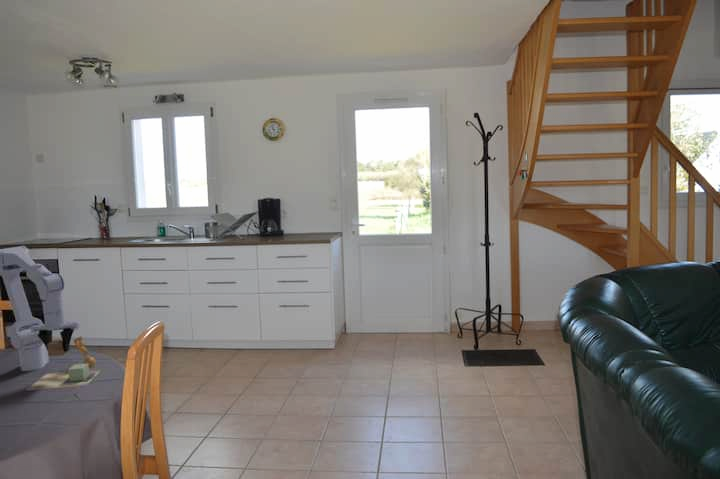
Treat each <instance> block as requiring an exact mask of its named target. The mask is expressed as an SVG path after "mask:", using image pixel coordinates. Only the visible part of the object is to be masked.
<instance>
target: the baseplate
mask: <svg viewBox="0 0 720 479" xmlns="http://www.w3.org/2000/svg"><path fill="white" fill-rule="evenodd" d="M102 370H103V368H100V369H99V368H98V369H89V374H90V375H89V376H88V377H87V378H86V379H85V380H80V381H70V379H69V371H59V372H48V373H45V374H44V375H43V376H42V377H41V378H39V379H38V380H37V381H35V382H34V383H33V384H32V385H30V387H28V388H27V389H26V391H33V390H35V391H36V390H48V389H60V388H61V389H62V388H73V387H86V386H87V385H88V384H90V383H91V382H92V380H93V379H94V378H95V377H96V376H97V375H98V374H99V373H100V372H101V371H102Z"/></svg>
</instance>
